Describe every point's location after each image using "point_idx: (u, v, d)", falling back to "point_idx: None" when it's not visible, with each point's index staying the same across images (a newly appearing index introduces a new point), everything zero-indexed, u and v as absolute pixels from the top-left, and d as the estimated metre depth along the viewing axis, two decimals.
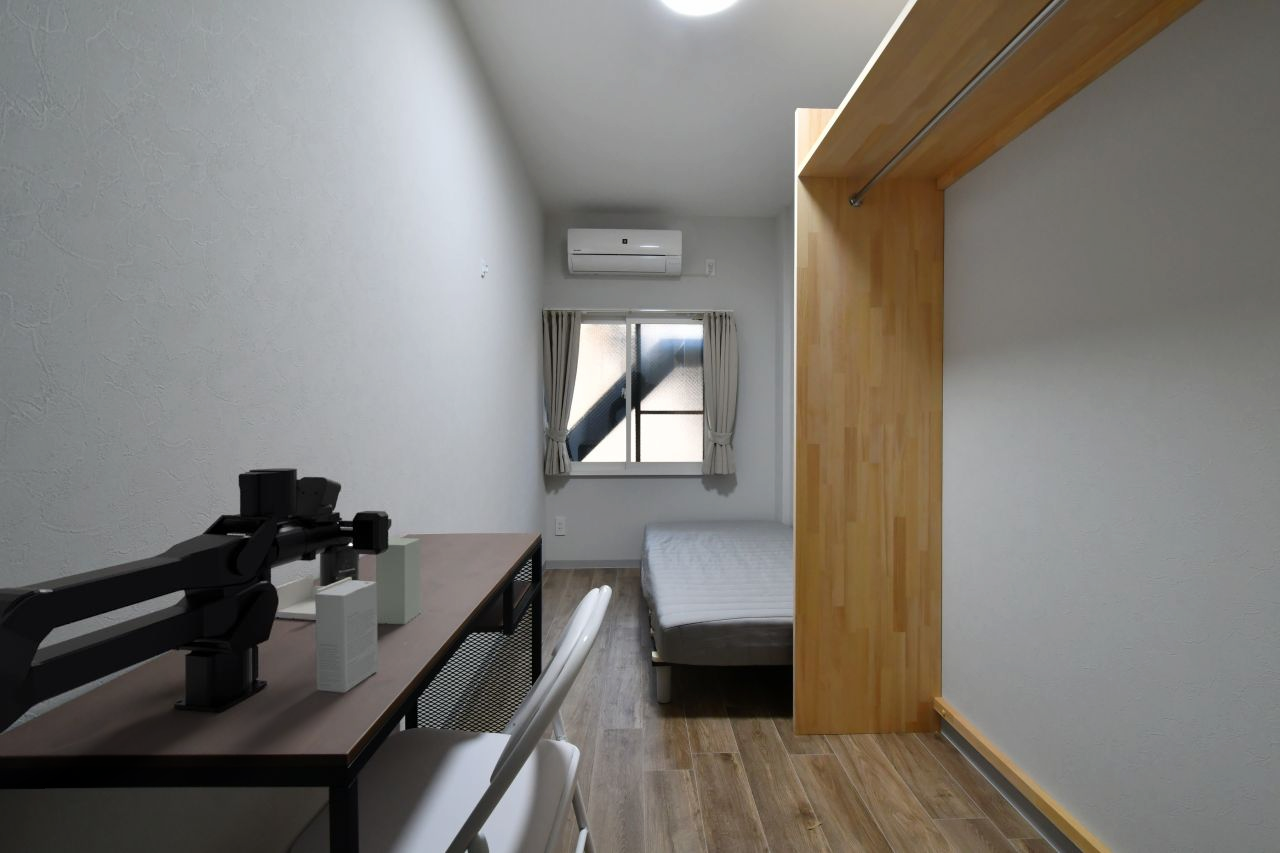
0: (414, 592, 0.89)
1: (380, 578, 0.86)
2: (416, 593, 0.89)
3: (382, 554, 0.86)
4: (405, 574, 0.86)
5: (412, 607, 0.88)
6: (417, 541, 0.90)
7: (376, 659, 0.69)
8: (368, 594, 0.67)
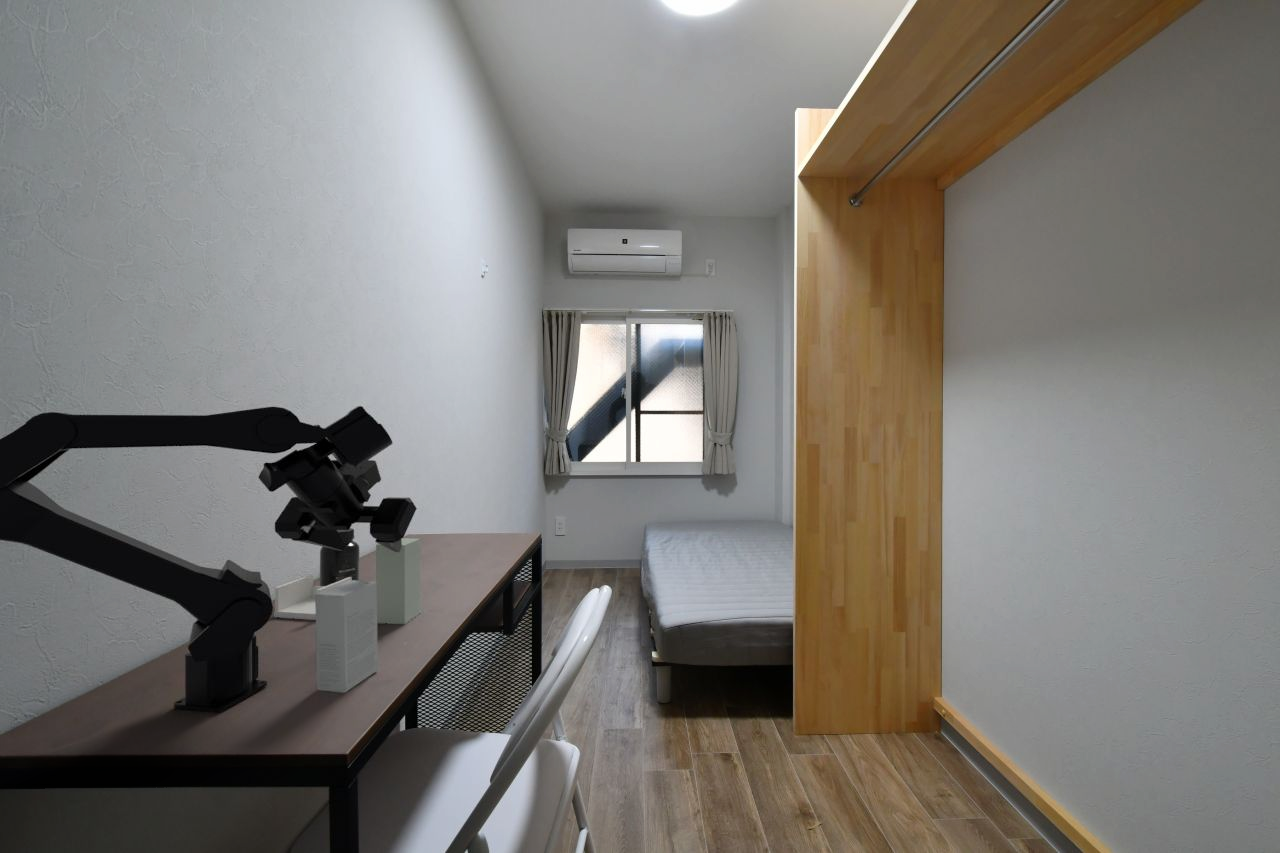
0: (414, 592, 0.89)
1: (380, 578, 0.86)
2: (416, 593, 0.89)
3: (382, 554, 0.86)
4: (405, 574, 0.86)
5: (412, 607, 0.88)
6: (417, 541, 0.90)
7: (376, 659, 0.69)
8: (368, 594, 0.67)
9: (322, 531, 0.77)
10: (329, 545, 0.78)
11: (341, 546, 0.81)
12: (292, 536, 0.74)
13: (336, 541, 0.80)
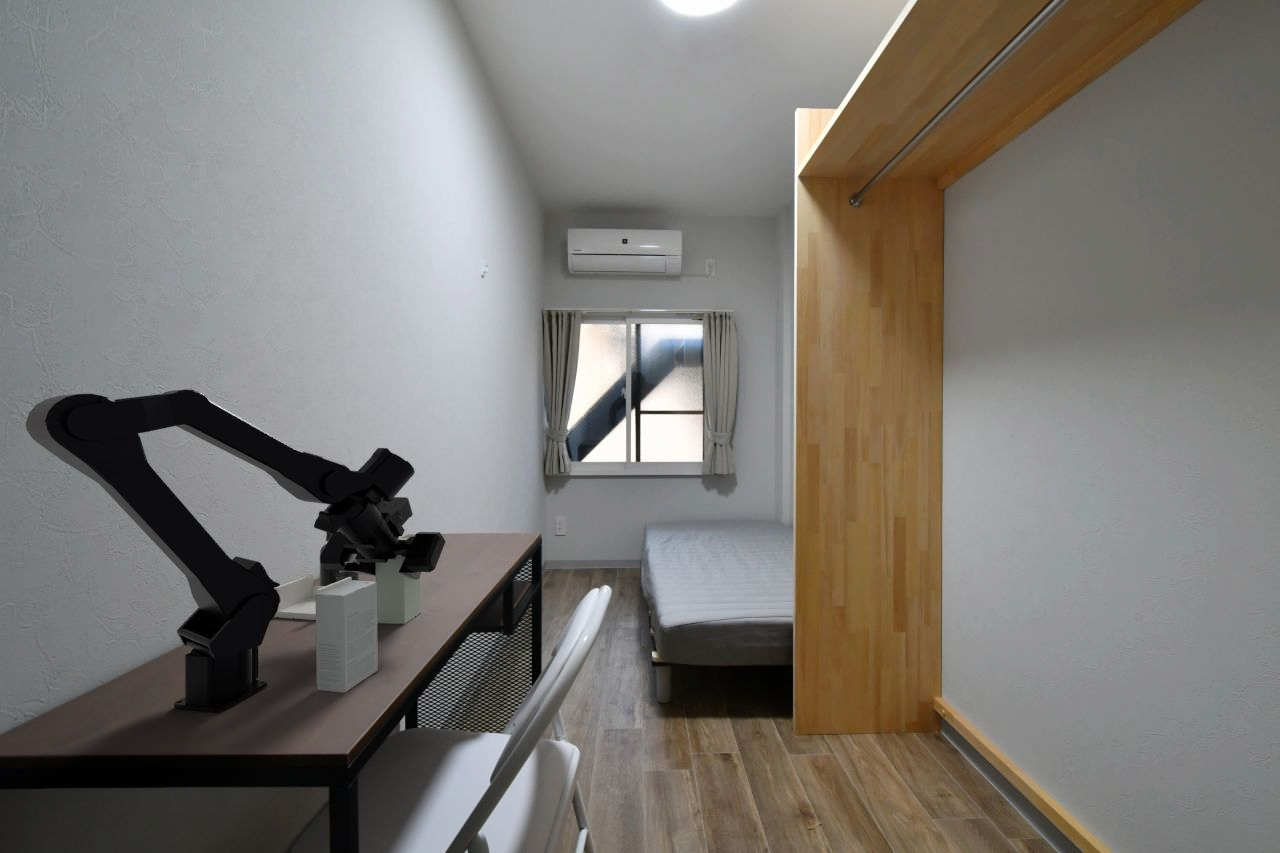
0: (414, 591, 0.89)
1: (380, 578, 0.86)
2: (416, 593, 0.89)
3: None
4: None
5: (412, 607, 0.88)
6: None
7: (376, 659, 0.69)
8: (368, 594, 0.68)
9: (371, 562, 0.86)
10: None
11: None
12: (335, 567, 0.83)
13: None
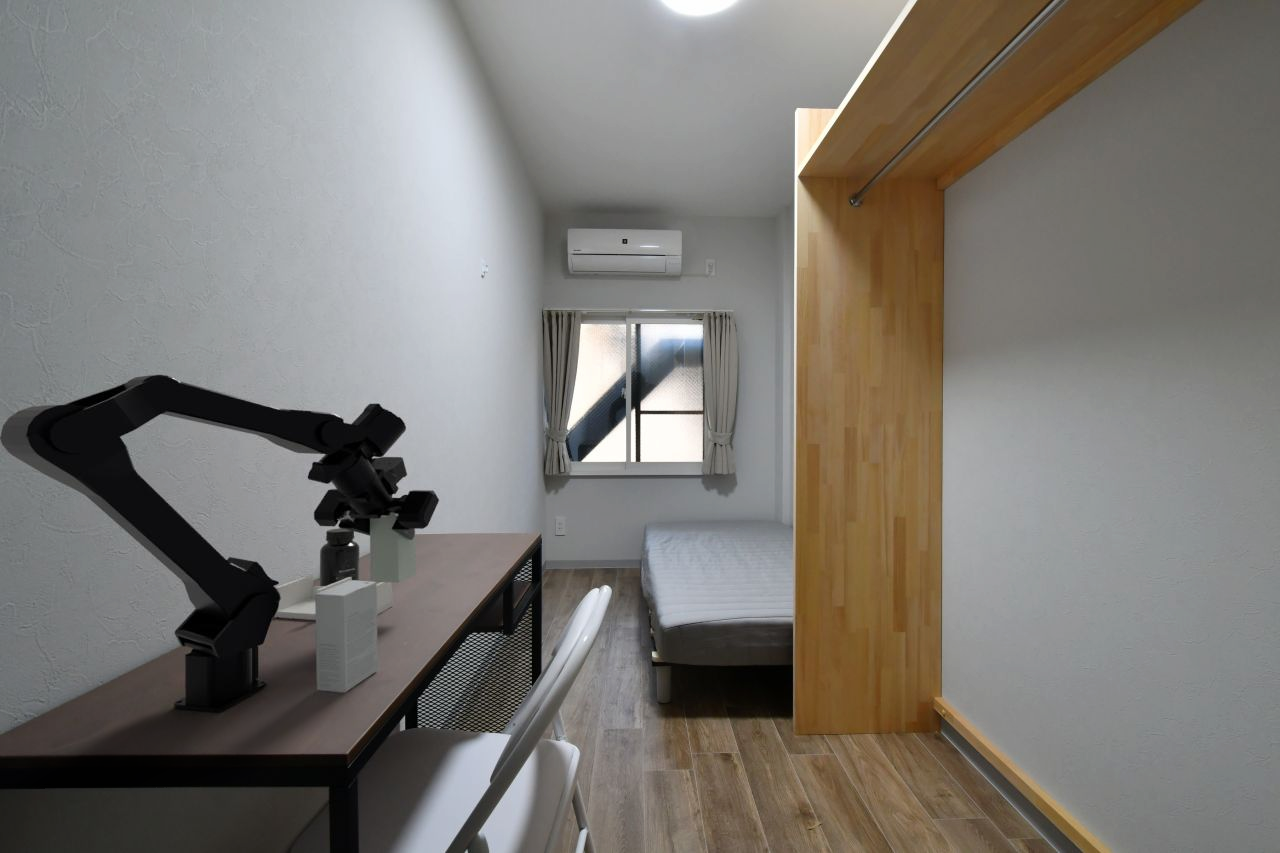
0: (409, 552, 0.89)
1: (374, 537, 0.87)
2: (410, 553, 0.89)
3: None
4: (398, 533, 0.86)
5: (406, 566, 0.88)
6: None
7: (376, 659, 0.69)
8: (368, 594, 0.68)
9: (365, 520, 0.86)
10: None
11: None
12: (329, 524, 0.83)
13: None
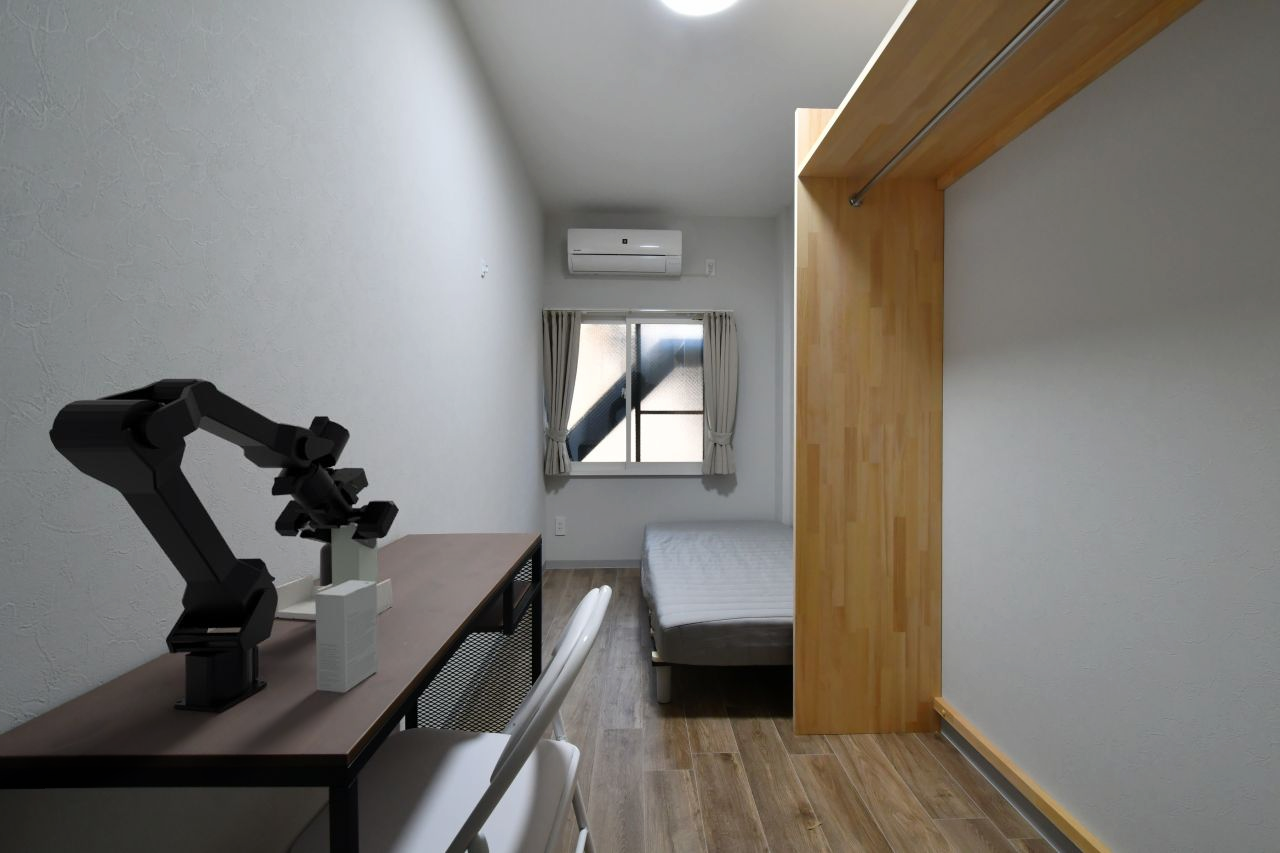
0: (370, 560, 0.91)
1: (335, 546, 0.89)
2: (372, 562, 0.92)
3: None
4: None
5: (368, 574, 0.90)
6: None
7: (376, 659, 0.69)
8: (368, 594, 0.67)
9: (327, 530, 0.88)
10: None
11: None
12: (290, 534, 0.85)
13: None
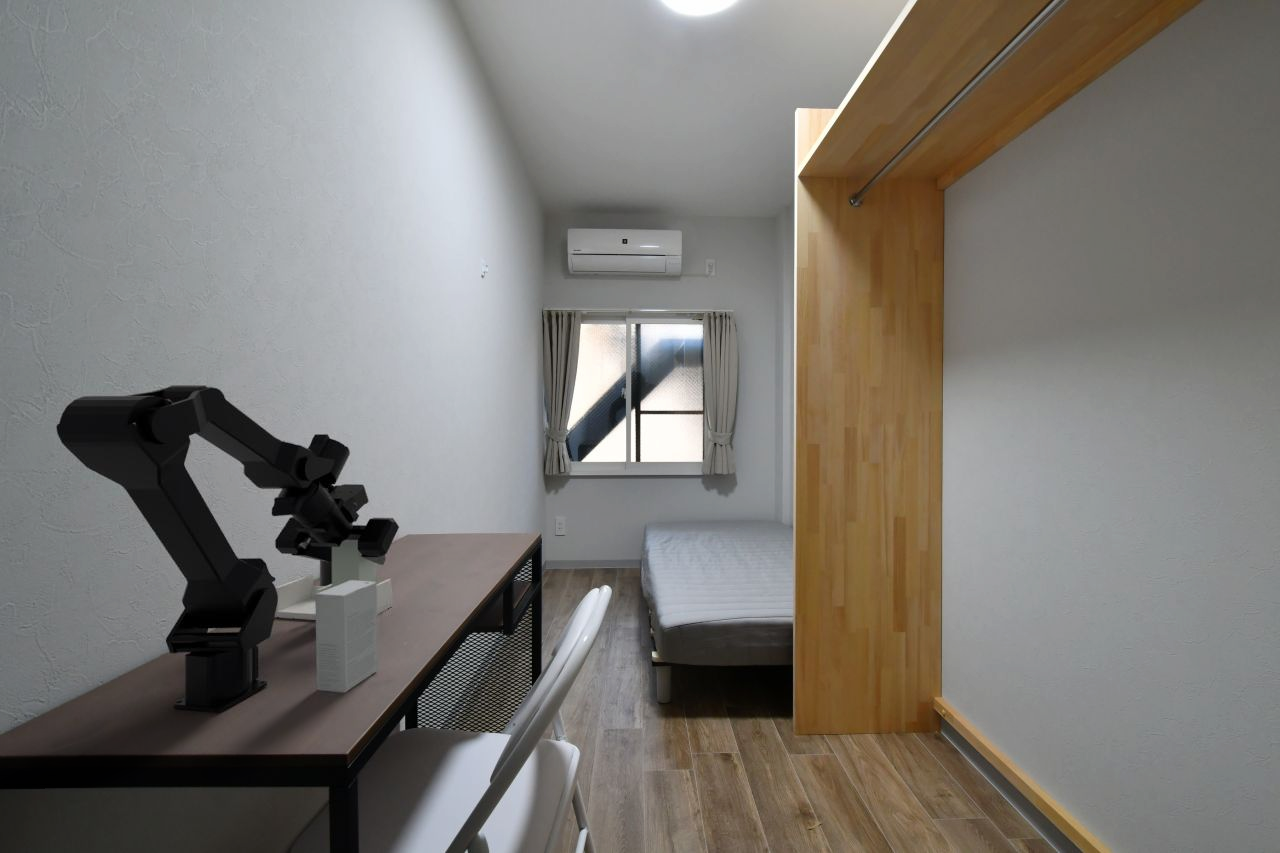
0: None
1: (336, 568, 0.89)
2: None
3: None
4: (359, 564, 0.88)
5: None
6: None
7: (376, 659, 0.69)
8: (368, 594, 0.68)
9: (318, 547, 0.89)
10: (324, 559, 0.90)
11: None
12: (290, 552, 0.85)
13: (330, 555, 0.91)
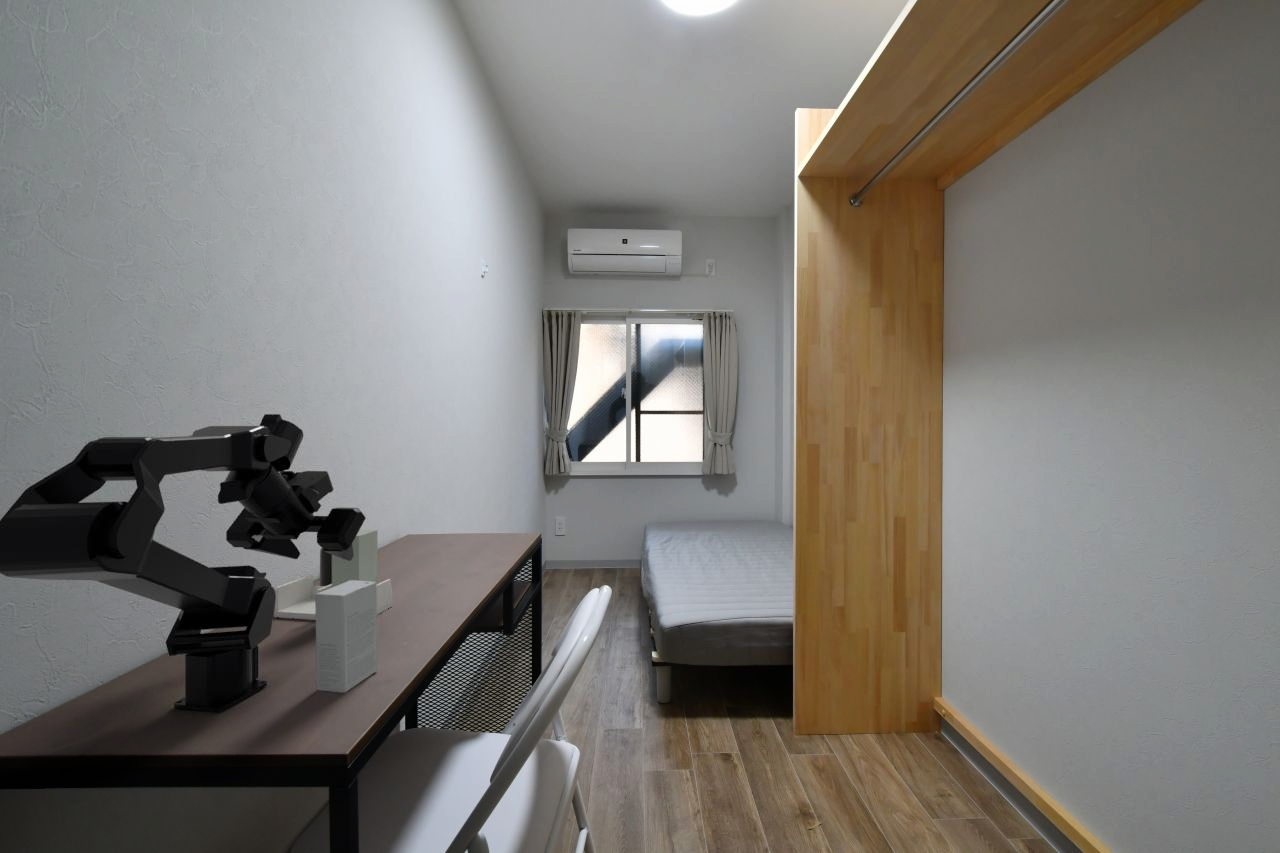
0: None
1: (336, 568, 0.89)
2: None
3: None
4: (359, 564, 0.88)
5: None
6: (373, 532, 0.92)
7: (376, 659, 0.69)
8: (368, 594, 0.68)
9: (274, 540, 0.80)
10: (281, 553, 0.81)
11: (294, 554, 0.83)
12: (243, 545, 0.76)
13: (289, 549, 0.82)
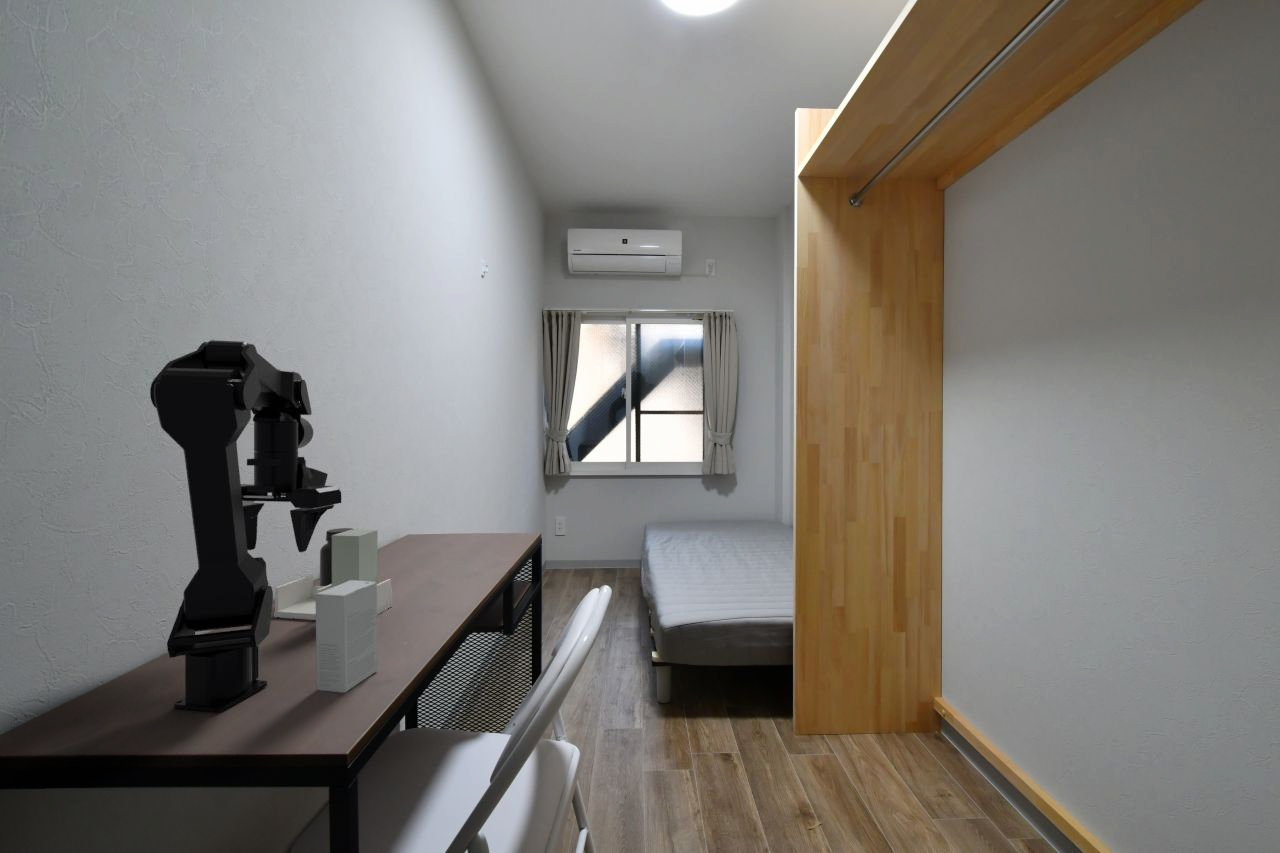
0: None
1: (336, 568, 0.89)
2: None
3: (337, 545, 0.89)
4: (359, 564, 0.88)
5: None
6: (373, 532, 0.92)
7: (376, 659, 0.69)
8: (368, 594, 0.68)
9: (246, 515, 0.82)
10: None
11: (250, 543, 0.83)
12: None
13: (250, 535, 0.83)
